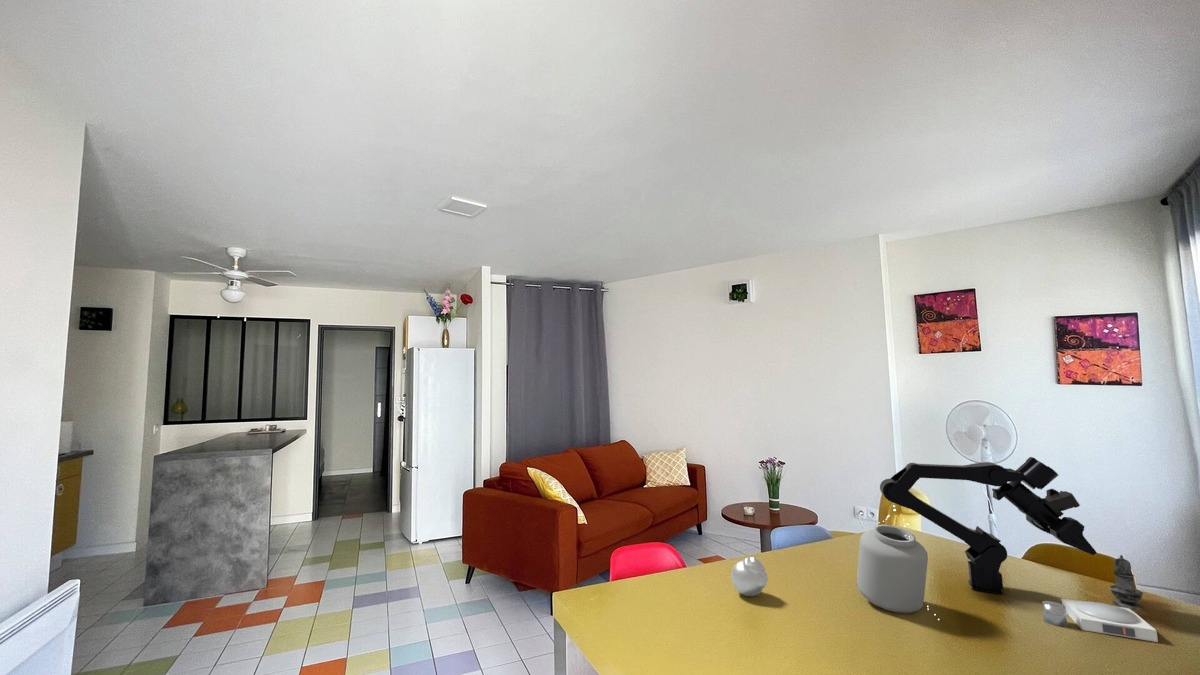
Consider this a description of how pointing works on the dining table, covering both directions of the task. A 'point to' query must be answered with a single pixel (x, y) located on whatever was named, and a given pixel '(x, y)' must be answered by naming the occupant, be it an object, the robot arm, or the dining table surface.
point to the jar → (892, 569)
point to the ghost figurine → (749, 576)
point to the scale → (1109, 620)
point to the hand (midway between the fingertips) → (1084, 548)
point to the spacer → (1054, 613)
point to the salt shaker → (1125, 586)
